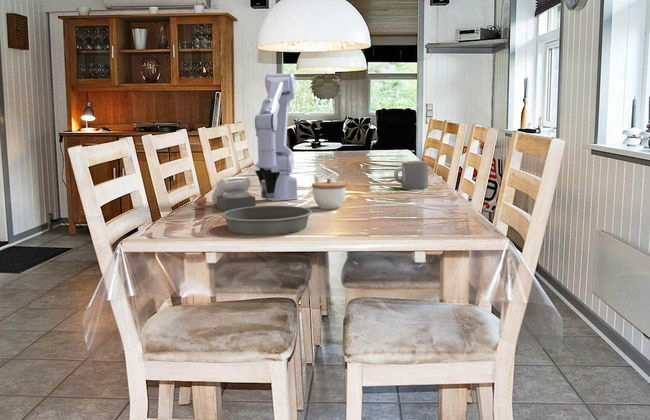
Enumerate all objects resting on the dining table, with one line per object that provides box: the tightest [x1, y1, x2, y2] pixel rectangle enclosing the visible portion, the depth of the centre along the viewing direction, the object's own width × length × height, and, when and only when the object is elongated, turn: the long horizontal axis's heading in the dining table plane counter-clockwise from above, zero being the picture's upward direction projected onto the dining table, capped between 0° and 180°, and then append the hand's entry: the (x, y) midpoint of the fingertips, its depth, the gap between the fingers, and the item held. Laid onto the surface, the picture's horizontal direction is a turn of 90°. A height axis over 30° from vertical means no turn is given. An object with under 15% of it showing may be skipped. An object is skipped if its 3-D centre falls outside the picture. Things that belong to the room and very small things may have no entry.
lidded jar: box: [311, 177, 347, 210], centre depth 228 cm, size 11×11×9 cm
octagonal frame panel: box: [216, 190, 256, 212], centre depth 229 cm, size 10×9×5 cm
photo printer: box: [211, 176, 251, 205], centre depth 235 cm, size 10×4×12 cm
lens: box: [260, 179, 275, 199], centre depth 233 cm, size 4×4×6 cm
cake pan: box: [221, 205, 313, 235], centre depth 195 cm, size 25×25×4 cm
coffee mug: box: [393, 160, 429, 190], centre depth 275 cm, size 13×10×10 cm
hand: (268, 192), depth 233 cm, fingers closed on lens, 4 cm apart
